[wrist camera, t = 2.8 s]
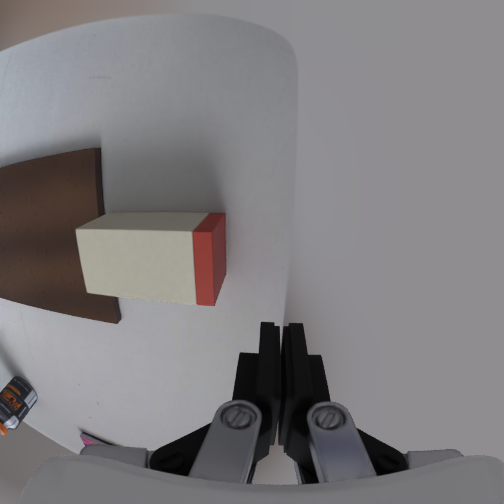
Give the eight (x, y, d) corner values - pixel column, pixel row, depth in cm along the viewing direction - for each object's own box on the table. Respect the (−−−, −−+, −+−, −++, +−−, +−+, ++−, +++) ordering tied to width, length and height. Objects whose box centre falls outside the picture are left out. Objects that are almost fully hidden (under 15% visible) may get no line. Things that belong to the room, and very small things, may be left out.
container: (109, 212, 22) (74, 228, 17) (225, 212, 21) (212, 231, 17) (116, 267, 24) (86, 293, 19) (226, 274, 23) (214, 306, 18)
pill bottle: (35, 387, 33) (3, 430, 22) (40, 404, 35) (12, 445, 24) (11, 369, 33) (-22, 408, 22) (17, 388, 35) (-11, 425, 24)
